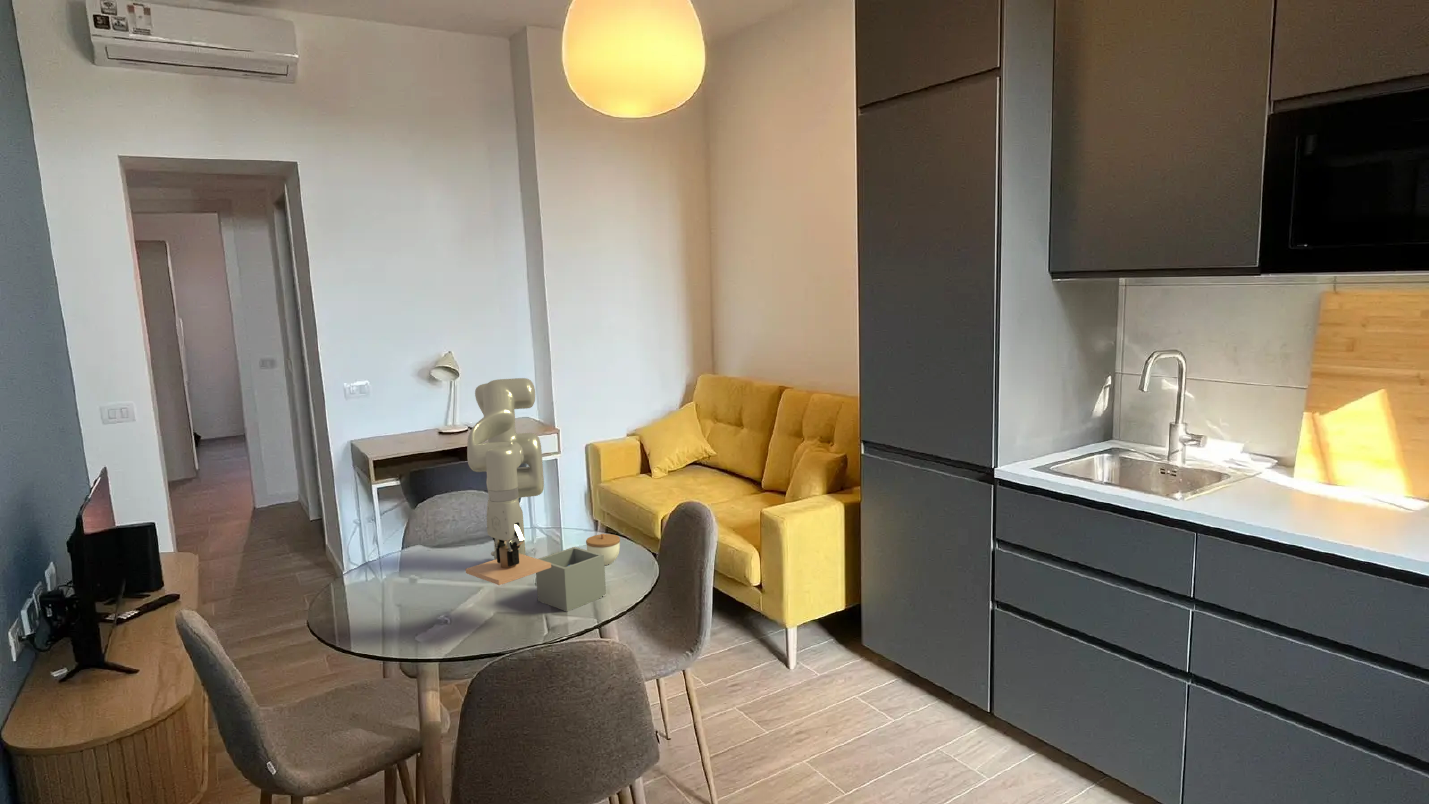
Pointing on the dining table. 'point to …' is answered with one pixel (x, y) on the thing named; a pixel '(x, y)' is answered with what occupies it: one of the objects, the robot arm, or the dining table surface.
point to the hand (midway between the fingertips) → (508, 562)
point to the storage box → (571, 579)
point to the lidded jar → (604, 546)
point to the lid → (507, 568)
